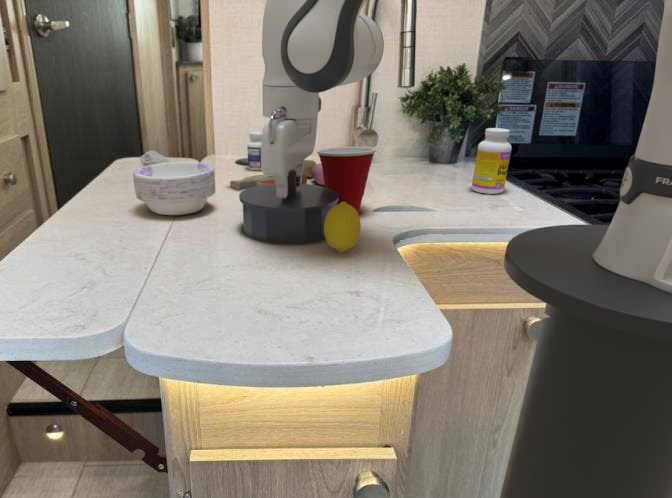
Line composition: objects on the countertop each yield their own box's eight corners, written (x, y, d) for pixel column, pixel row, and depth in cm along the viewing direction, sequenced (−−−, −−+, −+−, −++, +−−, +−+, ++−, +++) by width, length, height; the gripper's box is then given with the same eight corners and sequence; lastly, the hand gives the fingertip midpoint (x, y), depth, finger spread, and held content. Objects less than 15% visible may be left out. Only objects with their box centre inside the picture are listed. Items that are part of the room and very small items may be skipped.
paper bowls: (132, 203, 110) (128, 163, 106) (206, 196, 114) (204, 158, 111) (142, 224, 97) (137, 180, 93) (225, 216, 101) (223, 173, 98)
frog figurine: (146, 178, 130) (143, 148, 127) (175, 178, 129) (173, 148, 126) (138, 184, 124) (135, 153, 121) (168, 184, 124) (166, 153, 121)
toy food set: (304, 169, 138) (305, 153, 136) (356, 180, 127) (357, 162, 126) (227, 187, 122) (226, 169, 120) (279, 200, 111) (279, 181, 109)
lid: (346, 193, 98) (348, 164, 95) (326, 219, 83) (327, 186, 81) (258, 186, 102) (257, 158, 100) (224, 210, 88) (223, 178, 85)
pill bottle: (261, 165, 142) (260, 130, 139) (272, 169, 139) (272, 133, 135) (243, 168, 140) (243, 132, 136) (255, 171, 136) (254, 135, 132)
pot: (342, 219, 99) (343, 190, 97) (323, 248, 86) (324, 214, 83) (260, 212, 104) (260, 184, 101) (230, 238, 90) (228, 206, 88)
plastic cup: (345, 201, 111) (348, 140, 106) (383, 213, 103) (389, 148, 98) (303, 209, 105) (304, 146, 100) (339, 223, 97) (343, 155, 92)
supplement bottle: (495, 196, 114) (507, 133, 108) (465, 191, 118) (475, 129, 112) (508, 190, 118) (520, 129, 113) (479, 185, 122) (488, 126, 117)
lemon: (316, 249, 85) (318, 199, 82) (348, 244, 87) (351, 195, 84) (332, 261, 81) (335, 208, 77) (365, 256, 83) (369, 204, 79)
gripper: (292, 112, 76) (290, 209, 82) (323, 99, 94) (321, 179, 100) (249, 111, 78) (251, 205, 84) (288, 98, 95) (287, 177, 101)
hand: (289, 191), depth 92 cm, fingers open, 7 cm apart
